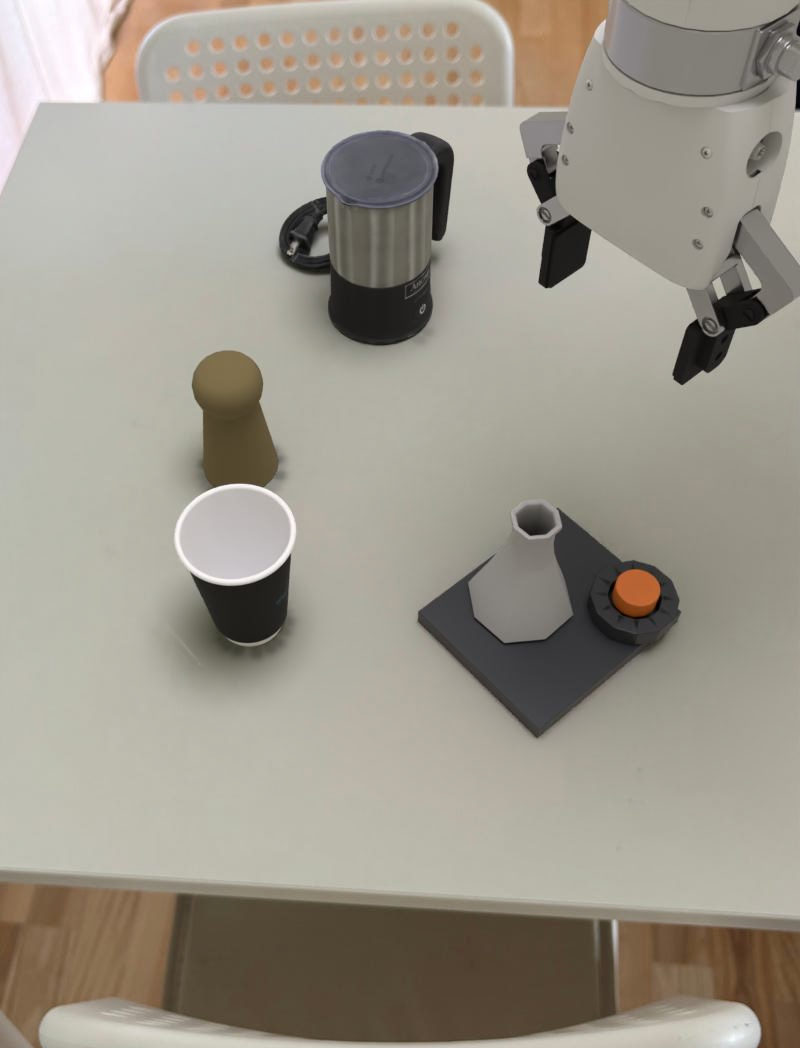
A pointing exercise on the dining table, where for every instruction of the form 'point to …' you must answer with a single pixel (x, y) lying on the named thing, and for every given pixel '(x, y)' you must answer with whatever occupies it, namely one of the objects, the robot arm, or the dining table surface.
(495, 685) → the dark grey base plate
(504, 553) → the flask
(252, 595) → the dixie cup
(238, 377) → the brown pawn
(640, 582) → the power button
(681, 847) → the dining table surface
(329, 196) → the milk frother
